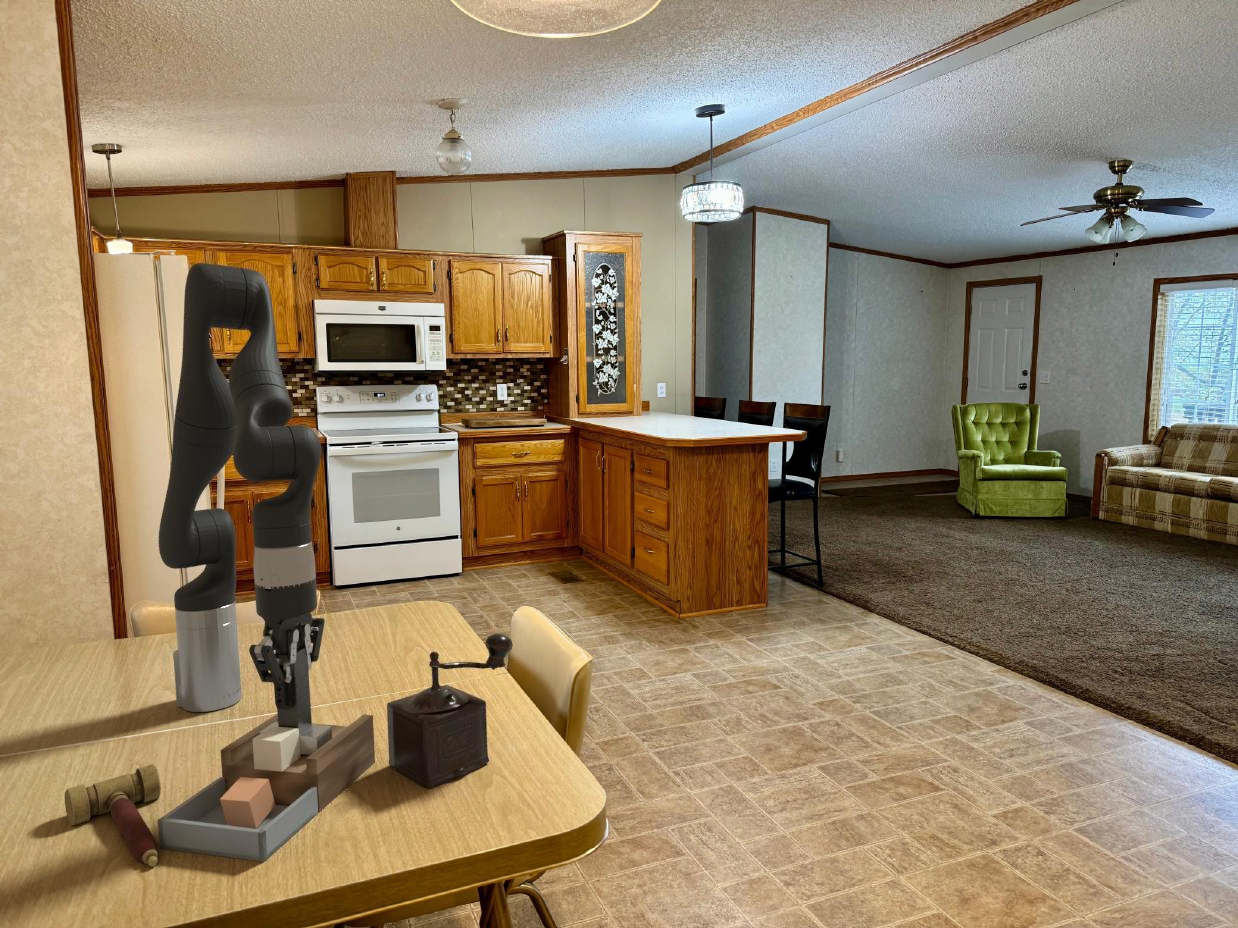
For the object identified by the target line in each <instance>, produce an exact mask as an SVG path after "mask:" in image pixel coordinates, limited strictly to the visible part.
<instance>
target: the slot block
mask: <svg viewBox="0 0 1238 928" xmlns="http://www.w3.org/2000/svg"><path fill="white" fill-rule="evenodd" d="M274 722H278V713H277V712H276V714H274V715H273V716H271V717H270V718H269V719H266V720H265V721H264V722H262V723H261V724H259V725H257V726H256V727H254V728H253V729H251V730H249V731H248V732H246V733H245V734H243V735H242V736H240V737H238V738H237V739H235V740H234V741H232V742H231V743H229V744H228V745H226V746H224V747H223V748H221V749H220V750H219V751H220V763H221V765H220V766H221V777H225V790H226V792H227V791H228V790H229V789H230V788H231V787H232V786H233V785H234V783H235V782H236V781H237V780H238V779H239V778H240V777H246V778H260V779H269V782H270V786H271V790H272V794H273V798H274V802H275V805H282V806H290V805H291V804H292V803H293V802H295V801H296V800H297V799H298V798H299V797H301V796H302V795H303V794H304V793H305V792H307V791H308V790H309V789H310V788H311V787H317V800H318V813H320V812H322V810H324V809H325V808H326V807H327V806H328V805H329V804H331V803H332V802H333V801H334V800H335V799H336V798H338V796H340V794H341V793H342V792H344V791H345V790H346V789H347V788H348V787H350V785H351V784H352V783H354V782H355V781H356V780H357V779H358V778H360V776H361V775H362V774H363V773H365V772H366V771H367V770H368V769H369V768H370V767H372V766H373V764H375V763H376V753H375V752H376V751H375V748H376V747H375V732H374V730H375V729H374V715H373V714H362V715H360V716H359V717H358V718H357V719H356V720H354V721H353V722H351V723H350V724H349V725H347V726H345V725H336V724H335V725H334V724H325V723H323V724H322V723H313V722H312V724H313V725H326V726H332V739H331V740H329V741H328V742H327V743H326V744H324V745H323V746H322V747H320V748H319V749H318V750H316V751H315V752H314V753H313V754H311V755H306V754H300V758H299V759H298V760H297V761H295V762H294V763H293V764H291V765H290V766H289V767H287V768H286V769H285V770H283V771H282V772H281V771H271V770H260V769H254V755H253V738H255V737H256V736H258V735H259V732H260V731H262V730H263V729H265V728H266V727H268V726H269V725H271V724H272V723H274Z"/></svg>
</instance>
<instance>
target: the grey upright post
mask: <svg viewBox="0 0 1238 928" xmlns="http://www.w3.org/2000/svg"><path fill="white" fill-rule="evenodd" d="M275 655H276V654H275ZM276 656H277V657H280V658H287V656H286V655H276ZM279 667H280V669H281V671H282V673H284V666H283V665H279ZM309 672H310V670H309V671H308V655H306V650H305V648H303V647H302V648H300V649H298V650H296V662H295V663H294V664H292V679H291V681H292V684H293V701H294V706H293V707H292V708H291V709H289V710H283V709H278V708H277V707H276V709H277V712H276V714H277V713H278V722H274V723H272V724H271V725H269V726H268V727H266V728H265V729H263V730H262V731H260V732H259V734H261V733H262V732H264V731H265V730H267V729H268V728H270V727H271V726H275V727H286V728H298V729H299V742H300V754H306V755H311V754H313V753H314V752H315V751H316V750H318V749H319V748H320V747H322V746H323V745H324V744H326V743H327V742H328V741H329V740H331V739H332V726H326V725H327V724H325V725H313V724H312V723H313V722H312V721H313V720H312V707H311V689H310V676H309V675H310V673H309Z"/></svg>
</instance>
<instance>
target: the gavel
mask: <svg viewBox="0 0 1238 928" xmlns="http://www.w3.org/2000/svg"><path fill="white" fill-rule="evenodd" d="M161 793H162V786H161V778H160V774H159V771H158V769H157V767H156V765H154V764H153V763H152V764H148V765H145V766H142V767H139V768H136V770H135V772H133V773H126V774H122V775H119V776H116V777H113V778H109V779H106V780H103V781H100V782H96V783H93V784H92V785H90V786H86V785H85V784H80V785H76V786H74V787H69V788H66V790H65V792H64V805H65V806H64V807H65V814H66V818H67V821H68V820H69V821H68V823H69V822H70V823H69V824H71V825H70V826H72V825H74V826H77V825H80V824H83V823H86V822H85V821H87V822H89V820H91V817H93V816H96V815H97V814H98V815H97V816H101V815H104V814H107V813H111V817H112V819H113V821H114V822H115V824H116V826H117V828H118V830H119V831H120V833H121V836H122V837H123V838H124V841H125V843H126V844H127V847H128V848H129V849H130V851H131V853H132V855H133V856H134V858H135V860H136V861H139V862H141V863H144V864H145V865H148V866H149V867H153V866H155V865H157V863H158V862H159V861H158V860H159V859H158V857H159V853H158V852H159V843H158V842H157V839H156V838H155V836H154V835H153V833H152V832H151V830H150V828H149V827H148V825H147V823H146V822H145V820H144V818H143V817H142V815H141V814H140V812H139V811H138V808H137V807H136V806H135V803H138V802H142V803H144V804H145V803H148V802H152V801H156V800H159V798H160V797H161V795H162V794H161ZM110 811H111V812H110ZM82 822H83V823H82ZM79 823H80V824H79ZM76 824H77V825H76Z"/></svg>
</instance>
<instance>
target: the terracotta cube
mask: <svg viewBox="0 0 1238 928" xmlns="http://www.w3.org/2000/svg"><path fill="white" fill-rule="evenodd" d="M220 801H221V805H222V808H223V812H224V815H225V819H226V822H227V825H228V826H236V827H245V828H257V827H258V826H259V825H260V824H261V822H262V821H263V820H264V819H265V818H266V816H267V815H268V814H269V813H270V811H271V810H272V809H273V808H274V807H275V802H274V798H273V794H272V790H271V786H270V782H269V779H260V778H246V777H240V778H239V779H238V780H237V781H236V782H235V783H234V785H233V786H232V787H231V788H230V789H229V790H228V791H227V792H226V793H225V794H224V795H223V796H222V798H221V799H220Z"/></svg>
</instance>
